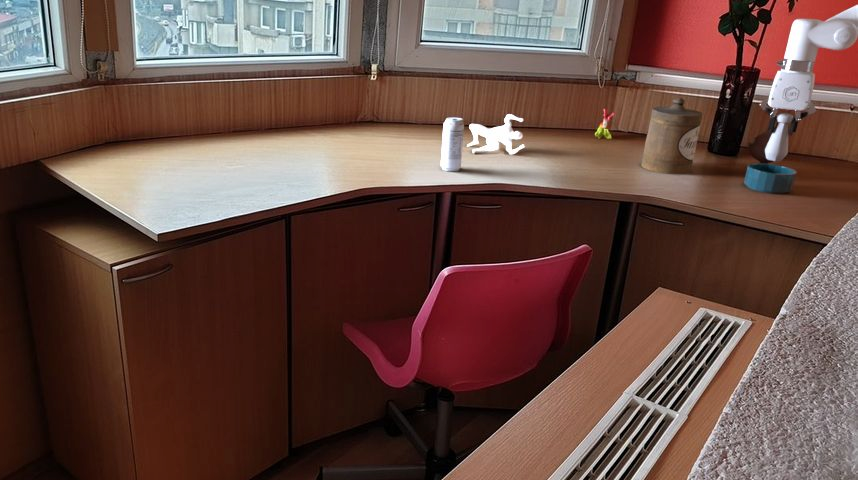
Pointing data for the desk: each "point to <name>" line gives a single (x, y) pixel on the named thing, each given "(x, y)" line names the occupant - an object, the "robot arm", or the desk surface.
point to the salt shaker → (779, 138)
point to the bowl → (770, 178)
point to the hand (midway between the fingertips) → (781, 132)
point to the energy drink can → (452, 144)
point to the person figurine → (497, 136)
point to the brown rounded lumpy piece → (760, 147)
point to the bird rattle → (604, 126)
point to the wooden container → (671, 139)
